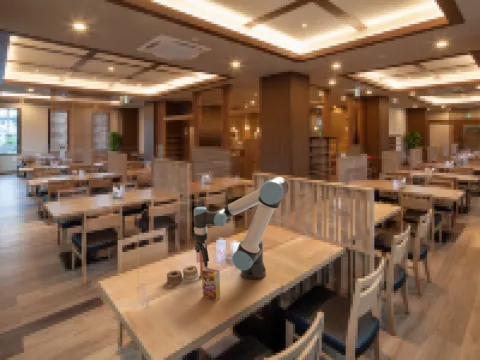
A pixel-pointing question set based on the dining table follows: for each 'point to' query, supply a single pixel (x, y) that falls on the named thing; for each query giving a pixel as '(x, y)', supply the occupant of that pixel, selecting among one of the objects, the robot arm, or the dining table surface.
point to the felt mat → (186, 280)
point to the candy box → (211, 283)
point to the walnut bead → (174, 277)
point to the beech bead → (190, 272)
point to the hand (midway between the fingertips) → (202, 266)
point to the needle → (201, 263)
